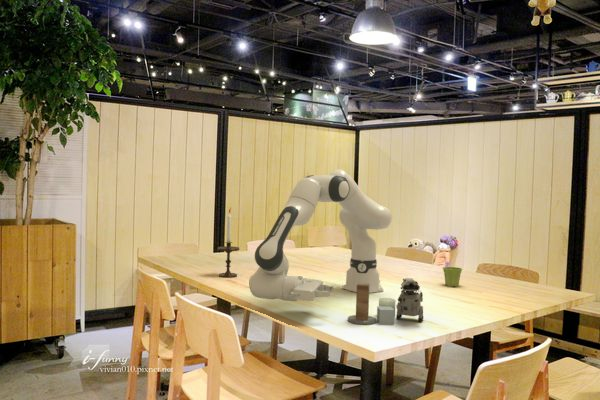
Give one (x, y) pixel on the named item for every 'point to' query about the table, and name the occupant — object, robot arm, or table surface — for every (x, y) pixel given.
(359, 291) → the walnut block
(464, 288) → the table surface
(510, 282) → the table surface
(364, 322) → the slate coaster
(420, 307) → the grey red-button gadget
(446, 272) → the plant pot
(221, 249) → the candlestick
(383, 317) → the bluegrey cube
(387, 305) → the pale green cylinder
